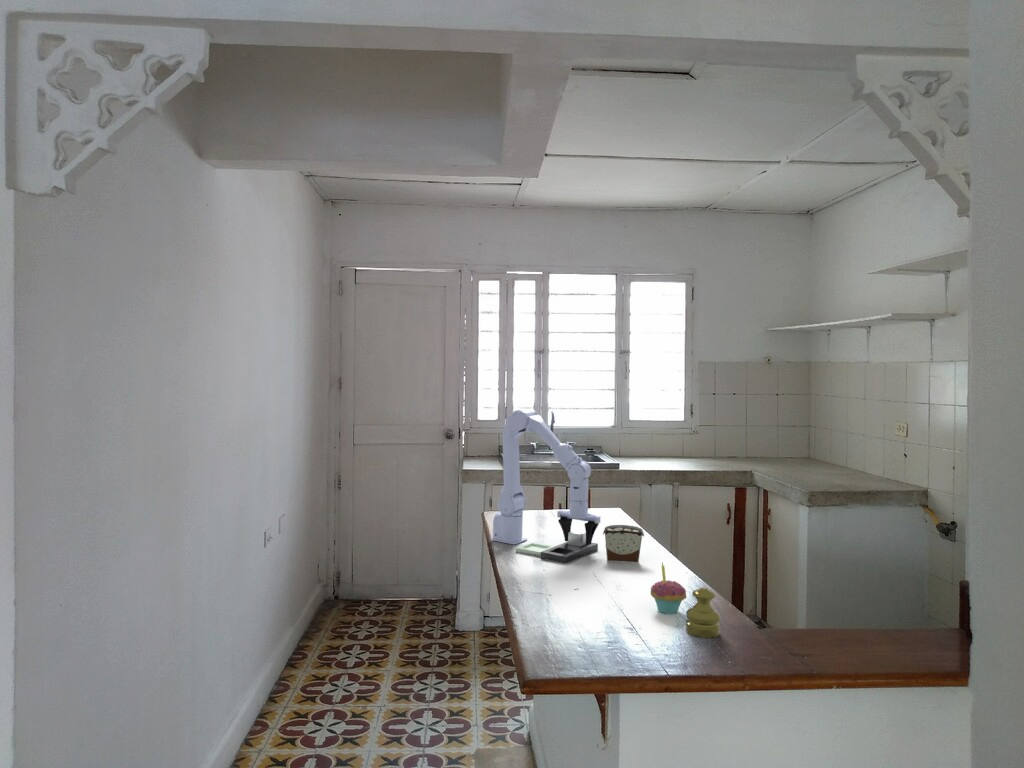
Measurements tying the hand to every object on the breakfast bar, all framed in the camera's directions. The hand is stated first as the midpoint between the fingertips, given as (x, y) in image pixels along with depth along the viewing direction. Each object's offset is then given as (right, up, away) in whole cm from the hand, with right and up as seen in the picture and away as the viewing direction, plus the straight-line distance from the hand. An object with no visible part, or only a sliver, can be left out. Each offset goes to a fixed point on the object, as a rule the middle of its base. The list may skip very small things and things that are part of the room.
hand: (577, 542), depth 232 cm
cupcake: (+17, -5, -54) cm, 57 cm away
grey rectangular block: (0, -3, 0) cm, 3 cm away
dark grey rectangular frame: (-3, -3, -4) cm, 6 cm away
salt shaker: (+22, -6, -68) cm, 72 cm away
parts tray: (-13, -2, -2) cm, 14 cm away
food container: (+13, -3, -9) cm, 16 cm away
